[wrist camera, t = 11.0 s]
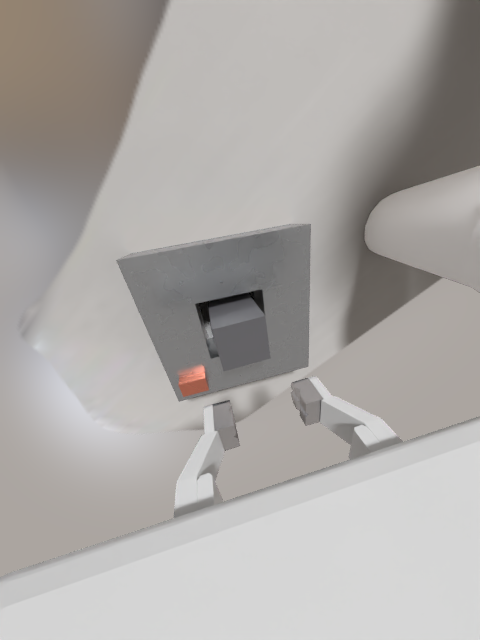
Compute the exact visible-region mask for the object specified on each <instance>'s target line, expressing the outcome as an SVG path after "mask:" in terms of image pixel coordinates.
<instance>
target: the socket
mask: <svg viewBox="0 0 480 640" xmlns="http://www.w3.org/2000/svg"><path fill="white" fill-rule="evenodd" d="M310 235H311V224H289V225H283V226H278V227H273V228H267V229H262V230H256V231H251V232H246V233H240V234H235V235H229V236H224V237H218V238H213V239H208V240H202V241H197V242H191V243H186V244H181V245H175V246H170V247H164V248H159V249H154V250H148V251H143V252H137V253H132V254H130V255H127V256H125V257H123V258H121V259H118V260H116V261H117V263H118V265H119V268H120V270H121V272H122V274H123V277H124V279H125V281H126V283H127V286H128V288H129V290H130V292H131V295H132V297H133V299H134V301H135V304H136V306H137V308H138V310H139V313H140V315H141V317H142V319H143V322H144V324H145V326H146V328H147V331H148V333H149V335H150V337H151V340H152V342H153V344H154V346H155V349H156V351H157V353H158V355H159V358H160V360H161V362H162V364H163V367H164V369H165V371H166V373H167V376H168V378H169V380H170V382H171V385H172V387H173V389H174V391H175V394H176V396H177V398H178V400H179V401H183V400H186V399H190V398H194V397H197V396H201V395H205V394H209V393H212V392H216V391H220V390H223V389H227V388H231V387H234V386H238V385H242V384H246V383H249V382H253V381H257V380H260V379H264V378H268V377H272V376H275V375H279V374H283V373H286V372H290V371H294V370H297V369H301V368H305V367H308V359H309V297H310ZM252 291H253V292H254V300H255V303H256V304H257V306H258V307H259V308H260V310H261V311H262V312H263V314H264V315H265V318H266V326H267V333H268V341H269V349H270V357H271V359H267V360H263V361H260V362H256V363H252V364H249V365H245V366H242V367H238V368H234V369H231V370H227V371H223V368H222V364H221V361H220V357H219V354H218V350H217V347H216V343H215V340H214V338H211V339H209V338H208V335H207V331H206V328H205V324H204V320H203V317H202V313H201V309H200V306H199V303H201V302H206V301H210V300H215V299H220V298H224V297H229V296H233V295H238V294H242V293H247V292H252Z"/></svg>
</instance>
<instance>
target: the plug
mask: <svg viewBox="0 0 480 640" xmlns="http://www.w3.org/2000/svg"><path fill="white" fill-rule="evenodd" d="M208 308H209V315H210V322H211V329H212V333H213V337H214V340H215V343H216V347H217V350H218V354H219V357H220V361H221V364H222V368H223V371H227V370H231V369H234V368H238V367H242V366H245V365H249V364H252V363H256V362H260V361H263V360H267V359H271V357H270V349H269V341H268V333H267V326H266V318H265V315H264V314H263V312H262V311H261V310H260V308H259V307H258V306H257V304H256V303H255V302H254V300H253V299H252V298H251V296H250V295H249V294H248V293H245V294H241V295H236V296H232V297H228V298H224V299H220V300H215V301H211V302H208Z"/></svg>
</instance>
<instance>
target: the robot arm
mask: <svg viewBox="0 0 480 640" xmlns="http://www.w3.org/2000/svg"><path fill="white" fill-rule="evenodd" d="M291 388H292V390H293V391H292V392H291V395H292V400H293V403H294V405H295V407H296V409H298V410H299V411H300V416H301V418H302V420H303V422H304V424H305V425H306V426H307V425H310V424H314V423H318V422H320V423H321V424H322V425H324V426H325V427H327V428H328V429H330V430H331V431H332V432H333V433H335V434H336V435H338V436H339V437H340V438H342V439H343V440H345V441H346V442H347V443H349V444H350V445H351V448H350V453H349V459H350V460H347V461H344V462H341V463H338V464H335V465H332V466H329V467H326V468H323V469H321V470H317V471H314V472H311V473H308V474H305V475H302V476H300V477H297V478H293V479H290V480H287V481H284V482H282V483H278V484H275V485H272V486H269V487H266V488H264V489H260V490H257V491H254V492H252V493H248V494H245V495H242V496H239V497H236V498H233V499H230V500H227V501H224V502H223V499H222V497H221V495H220V492H219V490H218V488H217V485H216V483H215V480H216V477H217V474H218V471H219V468H220V465H221V462H222V459H223V456H224V453H225V451H226V450H229V449H232V448H235V447H238V446H240V445H239V439H238V434H237V430H236V424H235V419H234V415H233V411H232V407H231V403H230V400H228V401H224V402H220V403H216V404H212V405H208V406H204V409H203V413H204V434H203V435H201V437H200V439H199V441H198V443H197V445H196V447H195V449H194V450H193V452H192V454H191V456H190V458H189V460H188V462H187V463H186V465H185V467H184V469H183V471H182V473H181V475H180V477H179V479H178V481H177V485H176V497H175V509H174V519H170V520H167V521H164V522H162V523H158V524H155V525H153V526H150V527H147V528H143V529H140V530H137V531H135V532H131V533H128V534H125V535H122V536H119V537H116V538H113V539H110V540H107V541H105V542H101V543H99V544H95V545H93V546H90V547H86V548H84V549H81V550H77V551H74V552H71V553H69V554H65V555H62V556H59V557H57V558H53V559H50V560H47V561H45V562H42V563H38V564H35V565H32V566H29V567H26V568H23V569H20V570H17V571H14V572H11V573H9V574H6V575H4V576H2V577H0V640H480V417H476V418H473V419H470V420H467V421H464V422H461V423H458V424H455V425H452V426H449V427H446V428H444V429H440V430H438V431H435V432H431V433H428V434H425V435H422V436H419V437H416V438H414V439H410V440H407V441H405V442H403V441H402V440H401V439H400V438H399V437H398V436H397V435H396V434H395V433H394V432H393V430H392V429H391V428H390V427H389V426H388V425H387V424H386V423H385V422H384V421H383V420H382V419H381V418H379V417H377V416H375V415H373V414H371V413H369V412H367V411H365V410H363V409H361V408H359V407H357V406H355V405H353V404H350V403H348V402H346V401H344V400H342V399H340V398H338V397H336V396H332V395H331V394H330V393H329V391H328V390H327V389H326V388H325V386H324V385H323V384H322V383H321V382H320V380H319V379H318V378H317V377H316V376H313V377H310V378H305V379H302V380H299V381H295V382H292V383H291Z"/></svg>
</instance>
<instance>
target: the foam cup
mask: <svg viewBox="0 0 480 640" xmlns="http://www.w3.org/2000/svg"><path fill="white" fill-rule="evenodd" d="M364 240H365V242H366V244H367V247H368V249H369V250H371V251H373V252H374V253H376V254H379V255H381V256H384V257H387V258H389V259H392V260H395V261H398V262H401V263H404V264H407V265H409V266H412V267H415V268H418V269H421V270H424V271H426V272H429V273H432V274H435V275H438V276H441V277H443V278H446V279H449V280H452V281H455V282H458V283H461V284H463V285H466V286H469V287H471V288H473V289H475V290H476V291H478V292H479V293H480V166H476V167H473V168H470V169H467V170H464V171H461V172H458V173H454V174H451V175H448V176H445V177H442V178H439V179H436V180H432V181H429V182H426V183H423V184H420V185H417V186H414V187H410V188H407V189H404V190H401V191H398V192H396V193H392V194H391V195H389V196H387V197H386V198H384V199H382V200H381V201H380V202H379V203H378V204H377V205H376V207H375V208H374V209H373V210H372V212H371V213H370V215H369V218H368V220H367V223H366V226H365V239H364Z"/></svg>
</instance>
